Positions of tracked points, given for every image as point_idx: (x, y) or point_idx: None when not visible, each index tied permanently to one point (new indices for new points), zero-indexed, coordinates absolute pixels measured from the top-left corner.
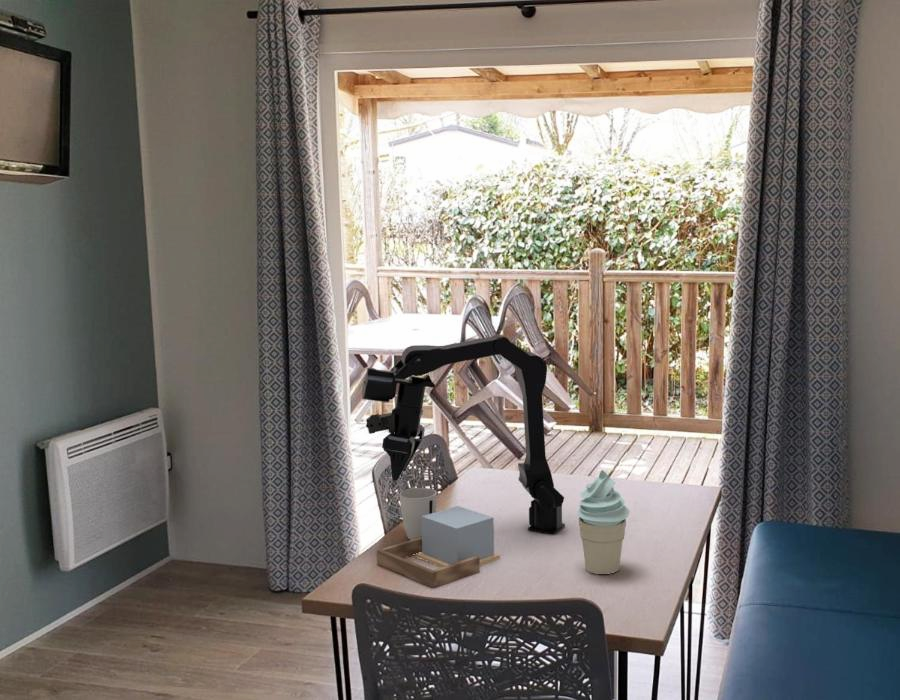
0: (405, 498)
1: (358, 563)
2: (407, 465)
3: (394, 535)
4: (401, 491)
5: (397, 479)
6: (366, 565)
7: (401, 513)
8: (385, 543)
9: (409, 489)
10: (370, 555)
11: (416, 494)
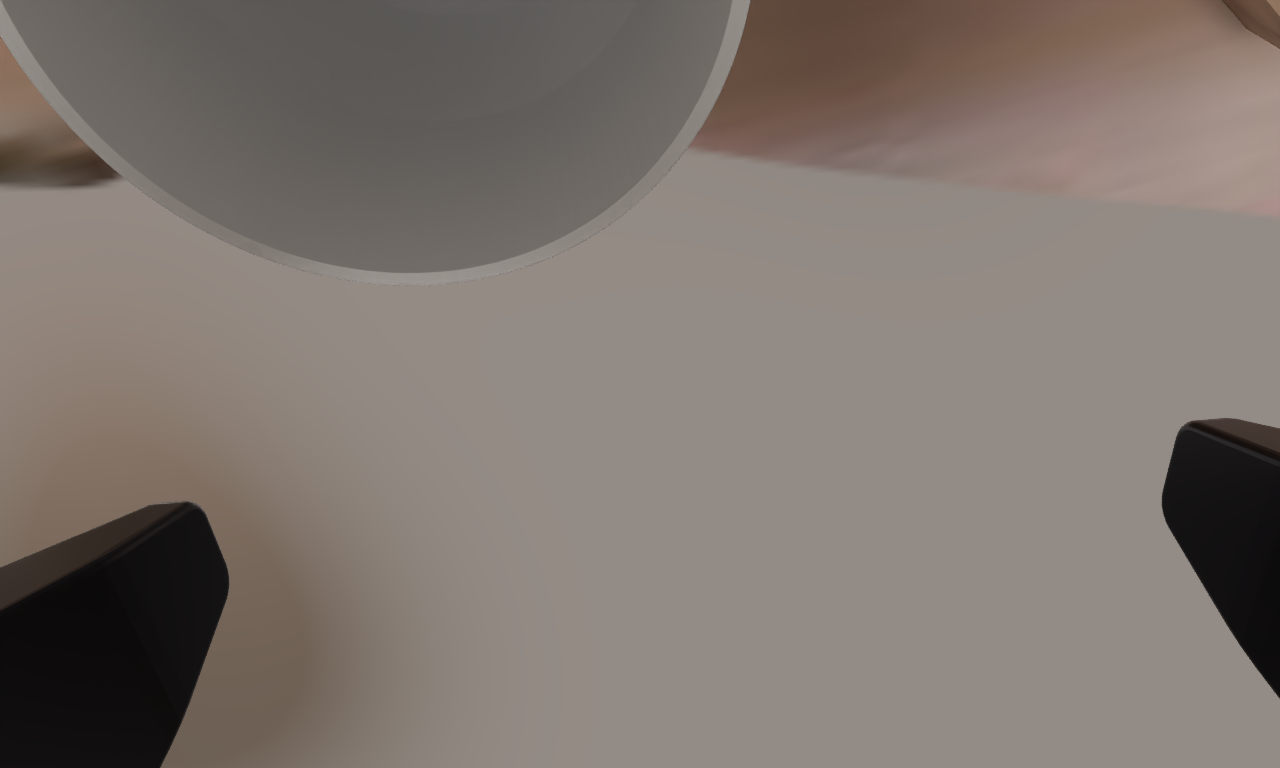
0: (698, 118)
1: (1175, 185)
2: (102, 561)
3: None
4: (363, 280)
5: (1251, 430)
6: (1239, 112)
7: (525, 107)
8: None
9: (175, 192)
10: (1003, 150)
11: (110, 40)
